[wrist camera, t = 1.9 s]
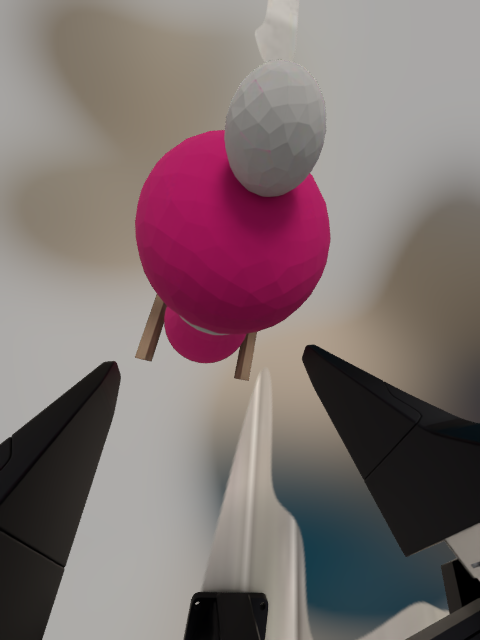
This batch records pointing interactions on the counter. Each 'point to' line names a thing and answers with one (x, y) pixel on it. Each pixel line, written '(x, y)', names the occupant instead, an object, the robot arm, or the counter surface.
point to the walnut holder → (154, 330)
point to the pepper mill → (239, 216)
